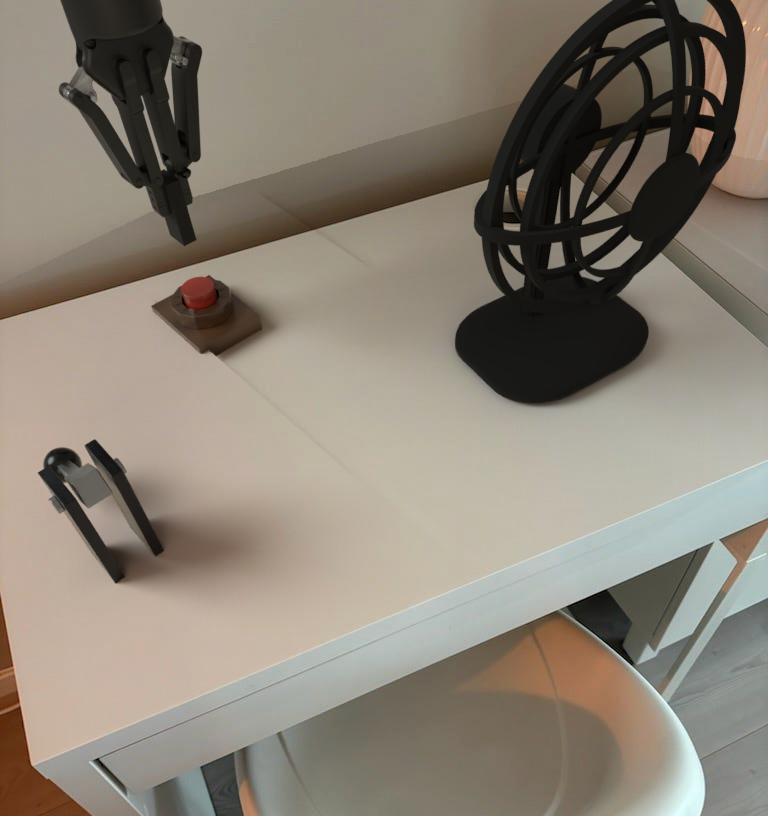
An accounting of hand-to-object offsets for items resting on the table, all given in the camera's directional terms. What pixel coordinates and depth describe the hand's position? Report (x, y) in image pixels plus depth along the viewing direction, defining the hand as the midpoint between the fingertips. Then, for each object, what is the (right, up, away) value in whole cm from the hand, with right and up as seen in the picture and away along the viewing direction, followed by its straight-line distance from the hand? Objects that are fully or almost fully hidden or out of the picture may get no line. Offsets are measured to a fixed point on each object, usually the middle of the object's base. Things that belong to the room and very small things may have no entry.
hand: (183, 237), depth 77 cm
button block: (0, -7, +10) cm, 12 cm away
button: (0, -4, +7) cm, 8 cm away
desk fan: (+39, -10, +5) cm, 41 cm away
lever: (-5, -26, -13) cm, 30 cm away
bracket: (-2, -32, -9) cm, 34 cm away
